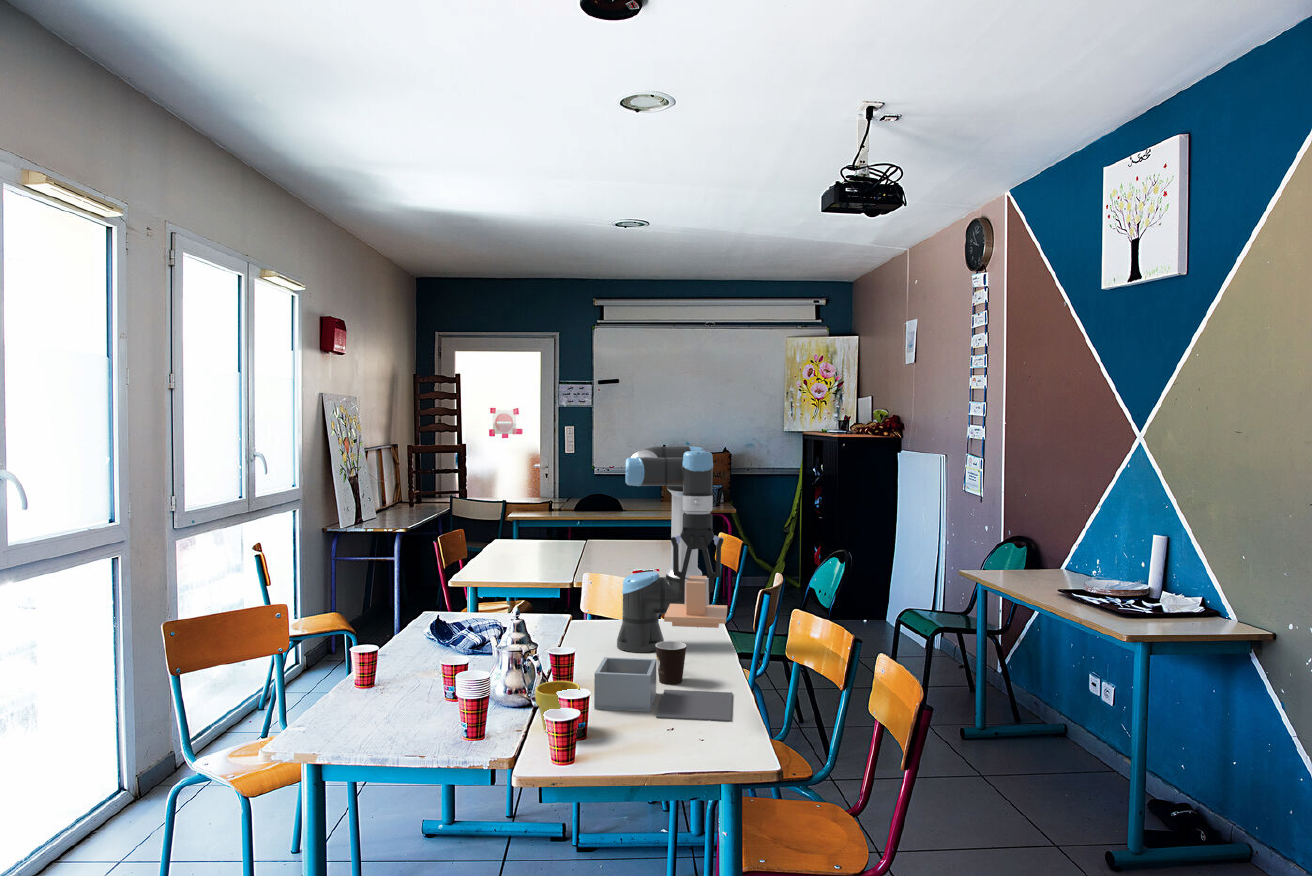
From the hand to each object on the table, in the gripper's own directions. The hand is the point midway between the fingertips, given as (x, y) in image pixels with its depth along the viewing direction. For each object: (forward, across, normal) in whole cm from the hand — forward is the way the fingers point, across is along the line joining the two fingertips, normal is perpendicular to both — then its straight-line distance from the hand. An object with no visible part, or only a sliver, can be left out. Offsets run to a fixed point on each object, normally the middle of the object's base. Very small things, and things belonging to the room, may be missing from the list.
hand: (696, 604), depth 203 cm
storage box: (+26, -18, +1) cm, 31 cm away
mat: (+26, 0, 0) cm, 26 cm away
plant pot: (+26, -31, -20) cm, 45 cm away
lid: (+4, 0, 0) cm, 4 cm away
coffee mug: (+26, -8, +20) cm, 34 cm away
